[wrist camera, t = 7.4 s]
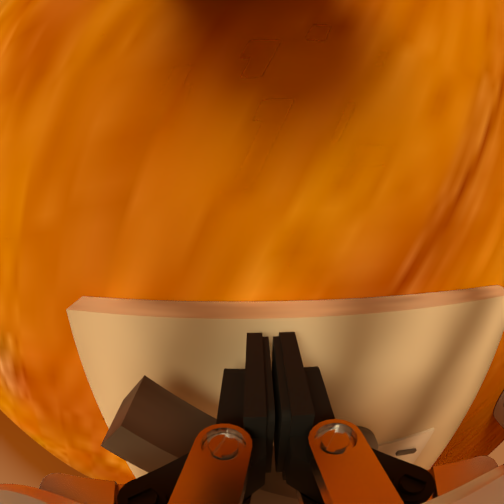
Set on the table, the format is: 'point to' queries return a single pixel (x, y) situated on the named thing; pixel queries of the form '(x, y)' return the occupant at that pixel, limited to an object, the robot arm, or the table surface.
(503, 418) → the thermos bottle
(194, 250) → the table surface
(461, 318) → the beige flat slab
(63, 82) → the table surface
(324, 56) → the table surface
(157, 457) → the grey door handle
